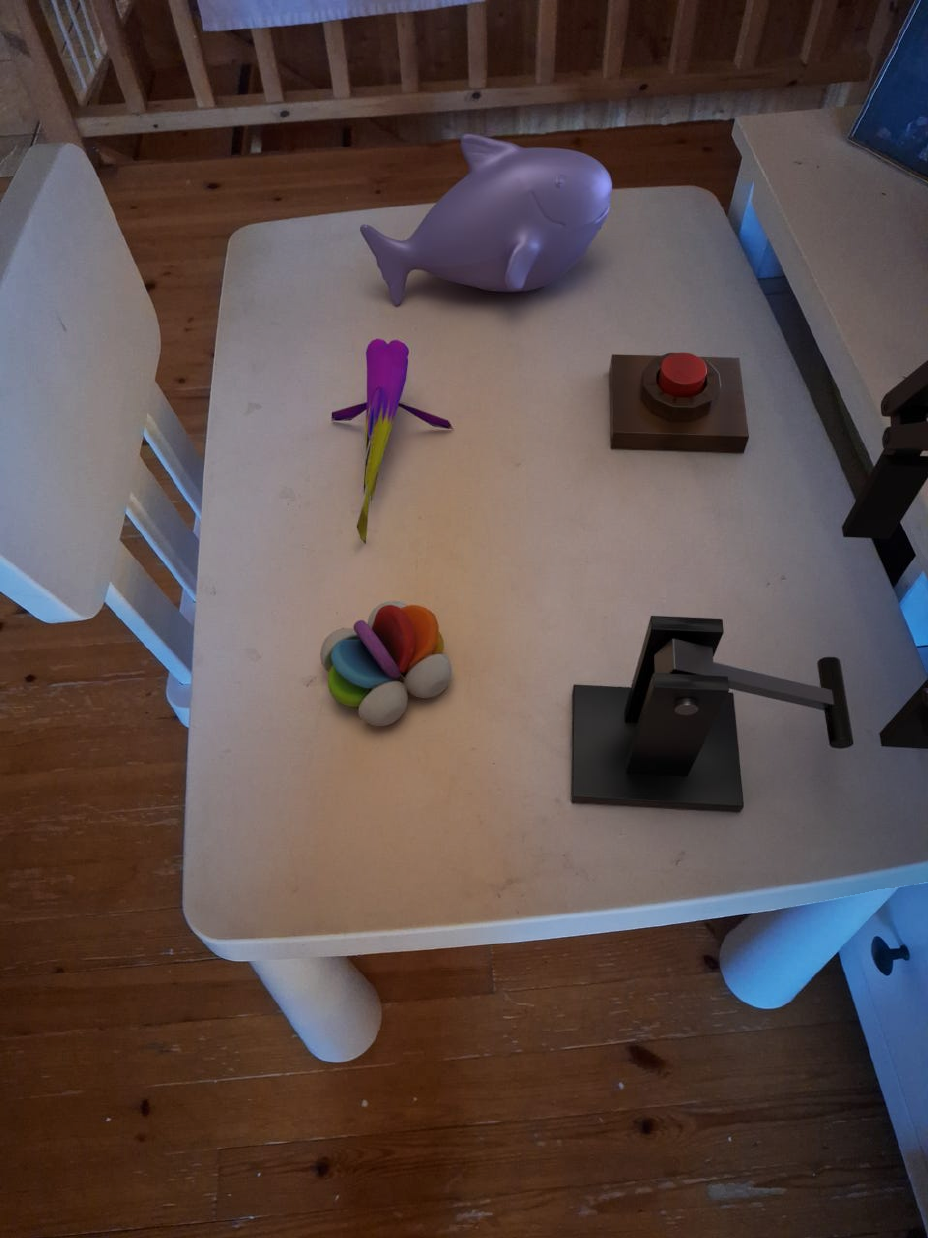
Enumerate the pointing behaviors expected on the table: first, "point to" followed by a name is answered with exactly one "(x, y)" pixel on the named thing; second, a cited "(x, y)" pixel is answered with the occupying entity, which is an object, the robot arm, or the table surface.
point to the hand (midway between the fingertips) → (884, 630)
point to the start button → (682, 375)
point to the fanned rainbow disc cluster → (386, 661)
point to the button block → (676, 408)
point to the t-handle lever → (768, 684)
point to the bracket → (659, 732)
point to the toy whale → (503, 220)
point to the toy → (382, 410)
